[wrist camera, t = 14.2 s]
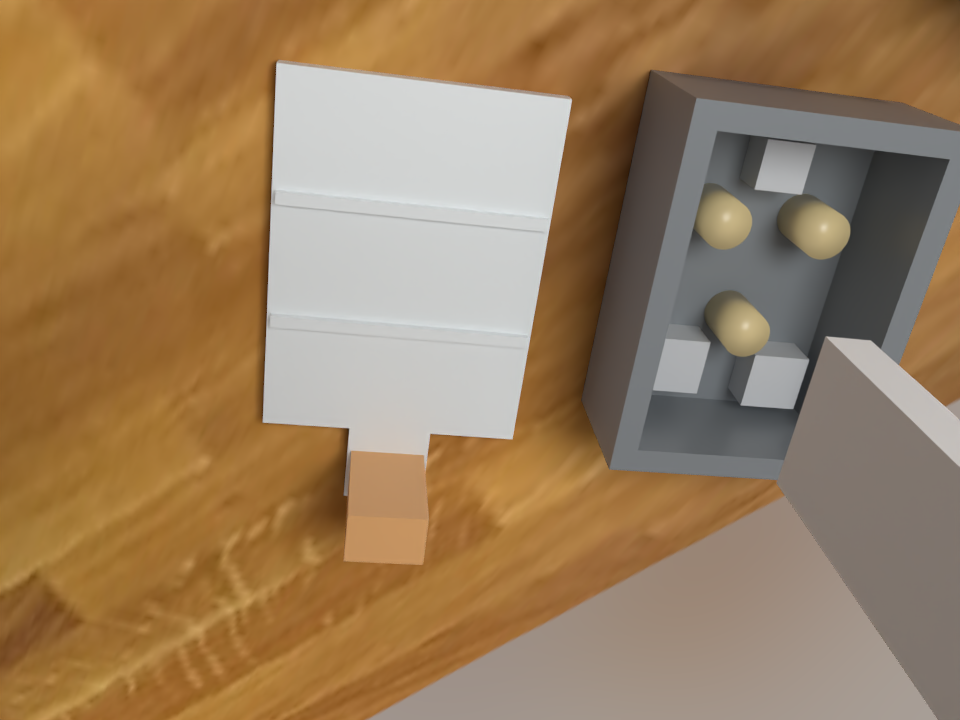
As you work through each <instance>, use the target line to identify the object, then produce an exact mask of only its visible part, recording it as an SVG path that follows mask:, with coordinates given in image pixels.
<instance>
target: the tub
mask: <svg viewBox="0 0 960 720" xmlns="http://www.w3.org/2000/svg"><path fill="white" fill-rule="evenodd" d="M959 204H960V125H959V124H956V123H954V122H951V121H948V120H946V119H943V118H941V117H938V116H935V115H933V114H930V113H928V112H925V111H922V110H920V109H917V108H915V107H912V106H909V105H907V104H904V103H900V102H893V101H885V100H878V99H870V98H862V97H855V96H847V95H839V94H832V93H824V92H816V91H809V90H801V89H794V88H786V87H778V86H771V85H763V84H755V83H748V82H740V81H732V80H725V79H717V78H710V77H702V76H694V75H687V74H679V73H671V72H664V71H656V70H651V72H650V77H649V82H648V87H647V91H646V96H645V101H644V106H643V110H642V115H641V120H640V125H639V129H638V134H637V139H636V144H635V148H634V153H633V158H632V162H631V167H630V172H629V177H628V181H627V186H626V191H625V196H624V200H623V205H622V210H621V215H620V219H619V224H618V229H617V234H616V238H615V243H614V248H613V252H612V257H611V262H610V267H609V271H608V276H607V281H606V286H605V290H604V295H603V300H602V305H601V309H600V314H599V319H598V324H597V328H596V333H595V338H594V343H593V347H592V352H591V357H590V361H589V366H588V371H587V376H586V380H585V385H584V390H583V395H582V399H581V401H582V403H583V406H584V408H585V410H586V413H587V415H588V418H589V420H590V423H591V425H592V428H593V430H594V433H595V435H596V438H597V440H598V443H599V445H600V448H601V450H602V453H603V455H604V458H605V460H606V462H607V465H608V467H609V469H611V470H627V471H643V472H659V473H675V474H691V475H707V476H723V477H739V478H755V479H771V480H778V478H779V475H780V472H781V469H782V466H783V463H784V460H785V457H786V454H787V451H788V448H789V445H790V442H791V439H792V436H793V433H794V430H795V427H796V424H797V421H798V418H799V415H800V412H801V409H802V406H803V403H804V400H805V397H806V394H807V391H808V388H809V385H810V382H811V379H812V376H813V373H814V370H815V367H816V364H817V361H818V358H819V355H820V352H821V349H822V346H823V343H824V340H825V337H838V338H849V339H860V340H871V341H872V342H873V343H874V344H875V345H876V346H878V347H879V348H880V349H881V350H882V351H883V352H884V353H885V354H887V355H888V356H889V357H890V358H891V359H892V360H893V361H894V362H895V363H897V364H898V365H899V363H900V360H901V358H902V355H903V352H904V350H905V347H906V344H907V342H908V339H909V337H910V334H911V331H912V329H913V326H914V323H915V321H916V318H917V315H918V313H919V310H920V307H921V305H922V302H923V299H924V297H925V294H926V291H927V289H928V286H929V284H930V281H931V278H932V276H933V273H934V270H935V268H936V265H937V262H938V260H939V257H940V254H941V252H942V249H943V246H944V244H945V241H946V239H947V236H948V233H949V231H950V228H951V225H952V223H953V220H954V217H955V215H956V212H957V209H958V207H959Z"/></svg>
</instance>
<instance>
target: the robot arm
mask: <svg viewBox="0 0 960 720" xmlns="http://www.w3.org/2000/svg"><path fill="white" fill-rule="evenodd" d="M777 485H778V486H779V488H780V489H781V490H782V492H783V493H784V495H785V496H786V498H787V499H788V501H789V502H790V504H791V505H792V507H793V508H794V509H795V511H796V512H797V514H798V515H799V517H800V518H801V520H802V521H803V523H804V524H805V526H806V527H807V529H808V530H809V531H810V533H811V534H812V536H813V537H814V539H815V540H816V542H817V543H818V545H819V546H820V548H821V549H822V551H823V552H824V553H825V555H826V556H827V558H828V559H829V561H830V562H831V564H832V565H833V567H834V568H835V569H836V571H837V572H838V574H839V575H840V577H841V578H842V580H843V581H844V583H845V584H846V586H847V587H848V589H849V590H850V591H851V593H852V594H853V596H854V597H855V599H856V600H857V602H858V603H859V605H860V606H861V608H862V609H863V611H864V612H865V613H866V615H867V616H868V618H869V619H870V621H871V622H872V624H873V625H874V627H875V628H876V630H877V631H878V632H879V634H880V635H881V637H882V638H883V640H884V641H885V643H886V644H887V646H888V647H889V649H890V650H891V652H892V653H893V654H894V656H895V657H896V659H897V660H898V662H899V663H900V665H901V666H902V668H903V669H904V671H905V672H906V674H907V675H908V677H909V678H910V679H911V681H912V682H913V684H914V685H915V687H916V688H917V690H918V691H919V692H920V694H921V695H922V697H923V698H924V700H925V701H926V703H927V704H928V706H929V707H930V709H931V710H932V712H933V713H934V715H935V716H936V718H937V719H938V720H960V420H959V419H958V418H957V417H956V416H955V415H954V414H953V413H951V412H950V411H949V410H948V409H947V408H946V407H945V406H944V405H943V404H941V403H940V402H939V401H938V400H937V399H936V398H935V397H934V396H932V395H931V394H930V393H929V392H928V391H927V390H926V389H925V388H924V387H922V386H921V385H920V384H919V383H918V382H917V381H916V380H915V379H913V378H912V377H911V376H910V375H909V374H908V373H907V372H906V371H904V370H903V369H902V368H901V367H900V366H899V365H898V364H897V363H895V362H894V361H893V360H892V359H891V358H890V357H889V356H888V355H887V354H885V353H884V352H883V351H882V350H881V349H880V348H879V347H878V346H876V345H875V344H874V343H873V342H872V341H871V340H860V339H849V338H838V337H825V340H824V343H823V346H822V349H821V352H820V355H819V358H818V361H817V364H816V367H815V370H814V373H813V376H812V379H811V382H810V385H809V388H808V391H807V394H806V397H805V400H804V403H803V406H802V409H801V412H800V415H799V418H798V421H797V424H796V427H795V430H794V433H793V436H792V439H791V442H790V445H789V448H788V451H787V454H786V457H785V460H784V463H783V466H782V469H781V472H780V475H779V478H778V481H777Z"/></svg>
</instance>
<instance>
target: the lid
mask: <svg viewBox="0 0 960 720" xmlns="http://www.w3.org/2000/svg"><path fill="white" fill-rule="evenodd" d="M571 103H572V99H571V98H570V97H569V96H564V95H556V94H548V93H540V92H532V91H524V90H516V89H508V88H500V87H492V86H484V85H476V84H468V83H460V82H452V81H443V80H435V79H427V78H419V77H411V76H403V75H395V74H387V73H379V72H371V71H363V70H355V69H347V68H339V67H331V66H323V65H315V64H307V63H299V62H291V61H283V60H278V61H277V63H276V89H275V115H274V141H273V168H272V194H271V220H270V246H269V273H268V299H267V325H266V352H265V378H264V404H263V423H278V424H293V425H308V426H322V427H337V428H349V437H348V449H347V461H346V472H345V484H344V496H347V512H346V529H345V547H344V561H350V562H372V563H394V564H416V565H423V560H424V553H425V545H426V538H427V530H428V523H429V514H428V502H427V489H426V476H425V470H426V462H427V455H428V447H429V439H430V434H441V435H456V436H471V437H486V438H501V439H513V433H514V427H515V422H516V416H517V410H518V404H519V399H520V393H521V387H522V382H523V376H524V370H525V365H526V359H527V353H528V348H529V342H530V336H531V330H532V325H533V319H534V313H535V308H536V302H537V296H538V291H539V285H540V279H541V274H542V268H543V262H544V256H545V251H546V245H547V239H548V234H549V228H550V222H551V217H552V211H553V205H554V200H555V194H556V188H557V182H558V177H559V171H560V165H561V160H562V154H563V148H564V143H565V137H566V131H567V126H568V120H569V114H570V108H571Z"/></svg>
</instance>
